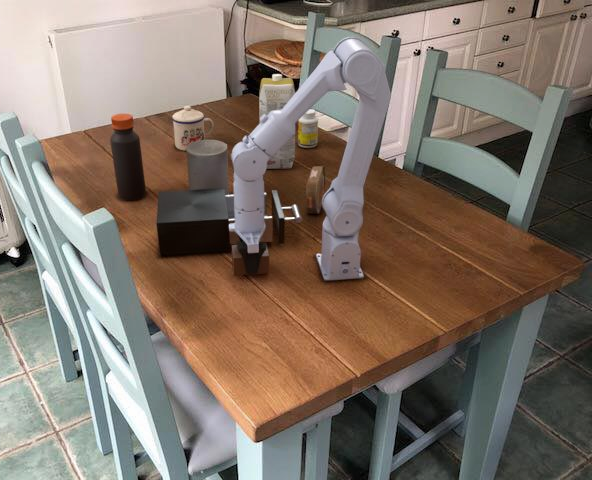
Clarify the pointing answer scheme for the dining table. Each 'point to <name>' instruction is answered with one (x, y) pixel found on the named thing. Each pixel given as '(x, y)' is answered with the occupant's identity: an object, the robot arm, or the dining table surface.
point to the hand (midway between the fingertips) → (250, 265)
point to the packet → (240, 267)
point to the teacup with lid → (189, 127)
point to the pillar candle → (207, 165)
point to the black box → (193, 222)
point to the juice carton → (275, 98)
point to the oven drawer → (266, 219)
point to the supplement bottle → (308, 129)
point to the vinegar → (127, 158)
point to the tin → (315, 189)
